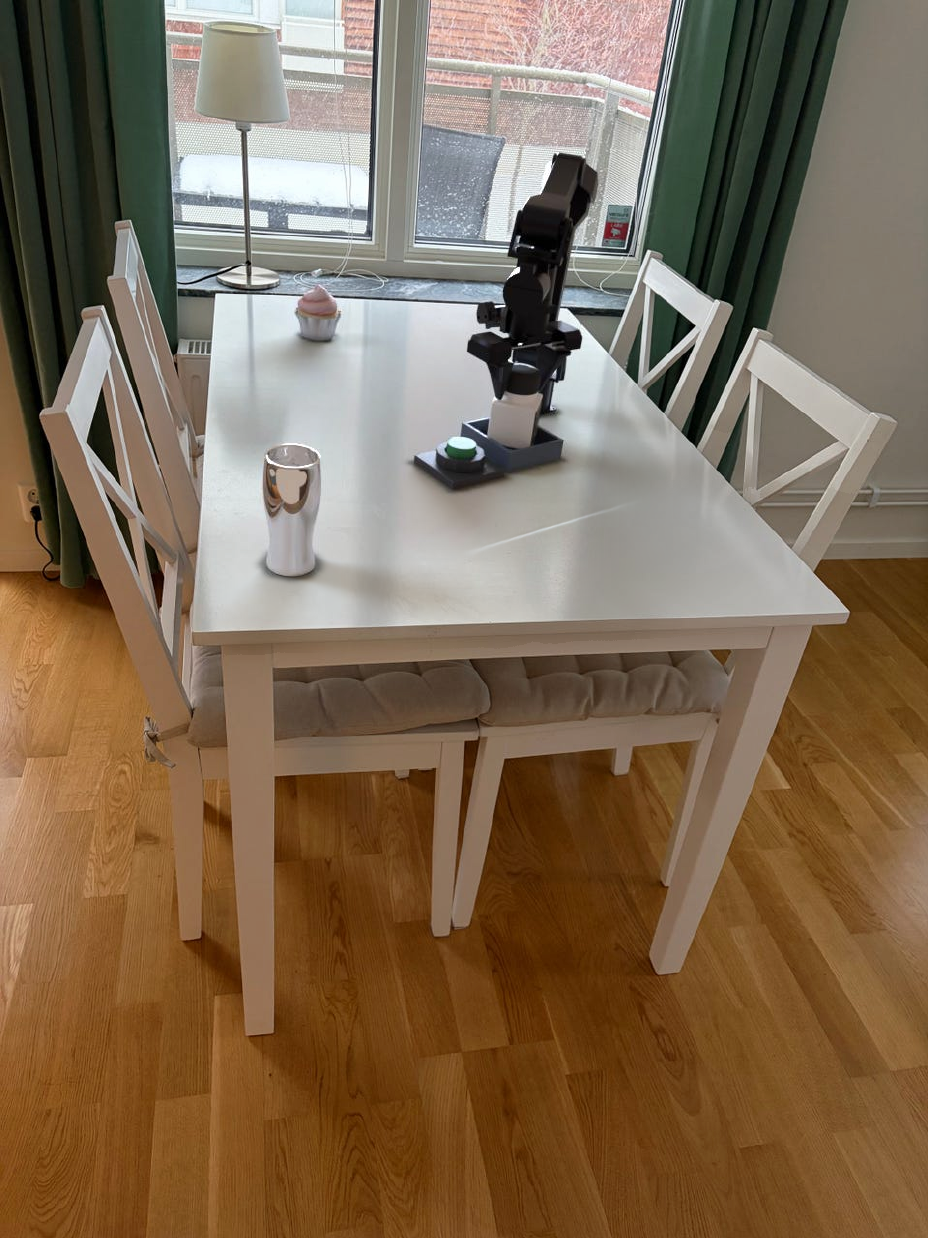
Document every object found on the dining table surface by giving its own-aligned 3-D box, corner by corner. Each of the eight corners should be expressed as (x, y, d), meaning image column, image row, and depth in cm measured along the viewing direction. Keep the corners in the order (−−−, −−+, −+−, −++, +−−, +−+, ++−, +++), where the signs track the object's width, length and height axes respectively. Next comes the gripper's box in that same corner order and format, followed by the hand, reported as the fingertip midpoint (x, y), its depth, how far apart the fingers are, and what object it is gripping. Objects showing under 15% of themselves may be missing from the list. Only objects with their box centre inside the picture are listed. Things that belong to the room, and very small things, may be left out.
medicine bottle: (530, 452, 156) (541, 379, 150) (485, 443, 157) (495, 371, 150) (536, 434, 162) (548, 363, 155) (493, 426, 163) (503, 355, 156)
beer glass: (265, 548, 128) (264, 440, 119) (319, 551, 129) (323, 444, 120) (260, 577, 122) (259, 466, 114) (317, 580, 123) (321, 470, 115)
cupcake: (300, 324, 199) (301, 274, 193) (346, 332, 198) (348, 281, 193) (287, 339, 191) (287, 287, 185) (334, 347, 190) (336, 294, 185)
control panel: (464, 451, 159) (466, 432, 157) (504, 477, 152) (506, 458, 151) (413, 462, 153) (415, 443, 151) (452, 490, 147) (454, 470, 145)
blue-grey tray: (512, 430, 167) (515, 411, 166) (560, 459, 160) (563, 440, 158) (459, 441, 161) (462, 422, 159) (507, 473, 154) (510, 452, 152)
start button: (463, 445, 154) (464, 434, 153) (480, 456, 151) (482, 445, 150) (440, 450, 151) (441, 439, 150) (457, 461, 149) (459, 451, 148)
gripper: (544, 273, 157) (529, 368, 165) (449, 284, 146) (439, 385, 155) (592, 295, 150) (574, 393, 159) (497, 308, 140) (484, 412, 148)
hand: (518, 394), depth 155 cm, fingers closed on medicine bottle, 8 cm apart
